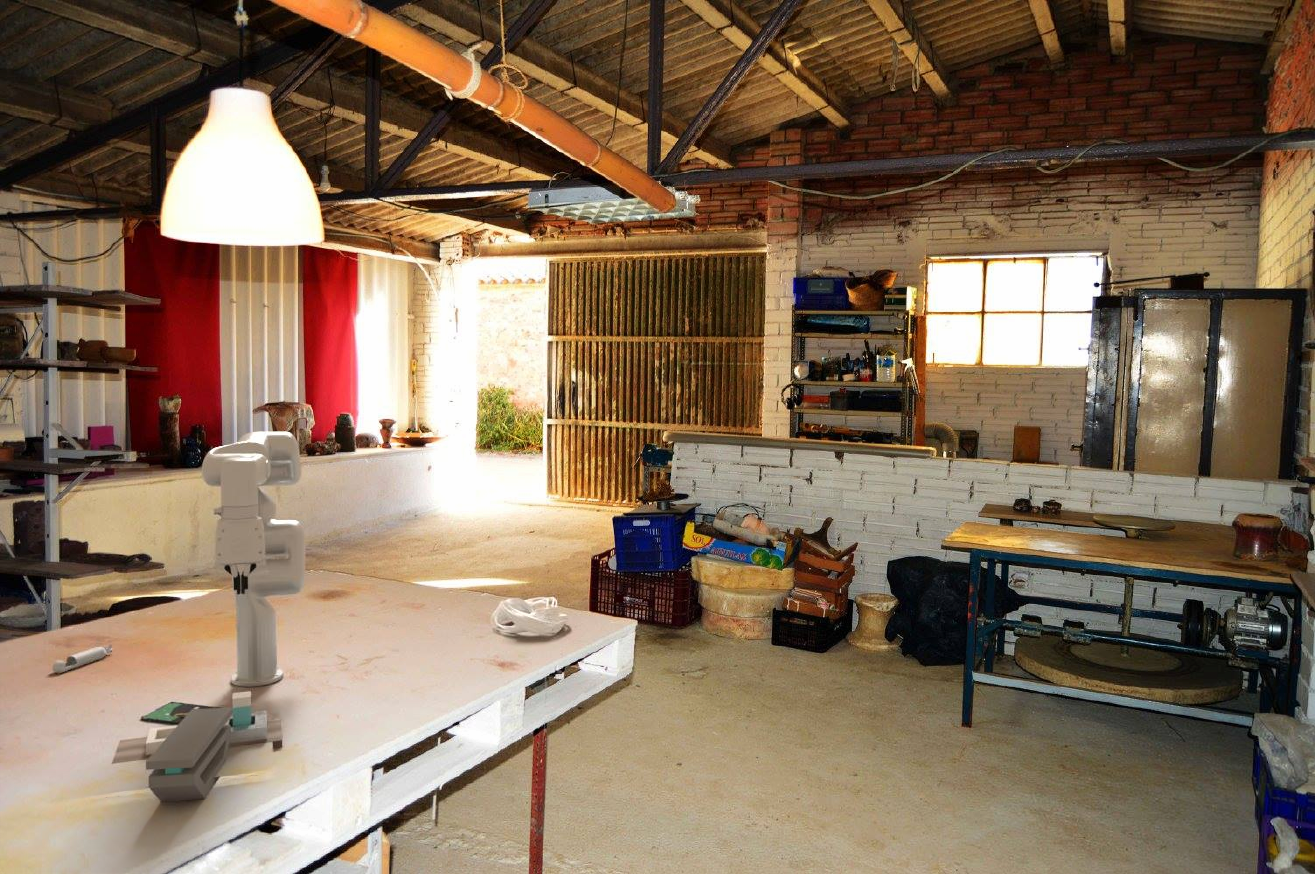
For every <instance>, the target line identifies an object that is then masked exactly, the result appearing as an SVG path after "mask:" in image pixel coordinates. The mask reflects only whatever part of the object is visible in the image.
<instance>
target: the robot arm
mask: <svg viewBox="0 0 1315 874" xmlns="http://www.w3.org/2000/svg"><path fill="white" fill-rule="evenodd" d="M238 439H239V440H238V441H237V442H235V443H234V442H233V443H231V444H226V445H223V446H218V447H214V448H212V449H210V450H209V451H208V452H207V453H206V455H205V456H204V459H203V462H202V464H201V476H202V480H203V481H204V483H205V484H206V485H207V486H209V487H210V486H211V487H220V506H219V507H217V508H213V515H218V516H219V517H220V518H218V519H217V522H216V527H215V539H214V540H215V541H214V558H215V559H214V561H215V562H214V565H213V568H214V569H216V570H221V571H222V570H223V571H226V572H227V573H228V574H229V575H231V580H232V581H231V583H232V588H233V592H234V594H233V595H234V600H235V611H236V612H235V613H236V668H237V669H236V672H235V673H233V674H232V675H231V677H230V683H231V684H232V685H235V686H237V687H247V688H248V687H249V688H250V687H251V688H253V687H260V686H267V685H271V684H274V683H277V682H278V681H280V680H281V679H282V678H283V677H284V670H282V669H281V668H278V660H277V659H278V654H277V653H278V651H277V649H278V648H277V641H278V640H277V612H276V608H275V607H274V605H273V604H272V602H270V600H269V599H268V598H267V597H276V596H292V595H297V594H300V593H301V592H302V591H303V589H304V587H305V582H306V532H305V527H304V525H303V524H302V523H301V522H300V521H298V520H296V519H295V520H294V519H284V520H283V519H281V520H277V505H276V502H275V500H274V499H273V498H272V497H271V496H270V494H268V492H266V490H264V489H263V488H261V487H271V486H272V487H274V486H275V487H280V486H281V487H283V486H285V487H286V486H287V487H288V486H294V485H296V484H297V483H299V482H300V479H301V476H302V462H301V455H300V454H301V453H300V448H299V444H298V443H299V442H298V441H297V439H296V437H295V435H294V434H293V433H291V432H289V431H251V432H248V433H244V434H243V435H242V436H241V437H240V438H238ZM267 557H285V558H267Z"/></svg>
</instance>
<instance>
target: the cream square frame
mask: <svg viewBox="0 0 1315 874" xmlns="http://www.w3.org/2000/svg"><path fill="white" fill-rule="evenodd" d="M177 726H178V725H168V726H162V727H161V726H160V727H153V728H152V727H151V728H149V730H148V734H147V736H146V737H147V741H146V755H150V754H153V753H154V752H155V751H156V749H157V748H158V747H159V746H160V745H161V744H162V743H163V742H164V740H165V739H166V738H167V737H168V736H169V735H170V734H171V732H172V731H173V730H174V729H175V728H176V727H177Z"/></svg>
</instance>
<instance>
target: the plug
mask: <svg viewBox="0 0 1315 874" xmlns="http://www.w3.org/2000/svg"><path fill="white" fill-rule="evenodd" d="M231 700H232V715H233V727H238V726H246V725H251V712H252V692H251V690H250V691H241V692H233V693H232V699H231Z"/></svg>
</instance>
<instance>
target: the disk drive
mask: <svg viewBox="0 0 1315 874" xmlns="http://www.w3.org/2000/svg"><path fill="white" fill-rule="evenodd" d="M211 708H222V707H220V706H212V705H203V704H201V705H200V704H194V703H186V702H185V703H184V702H177V701H170V702H168V703H167V704H164V705H162V706H160V707H158V708H156V709H155V710H154V711H151V712H149V713H147V714H146V715H141V716H140V719H139V722H141V721H142V722H147V723H148V722H150V723H158V724H167V725H171V726H175V725H179V723H180V722H181V721H182V720H183V719H184V718H185V717H186V715H187V714H188V713H189V712H190V711H191V710H192V709H211Z"/></svg>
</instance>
